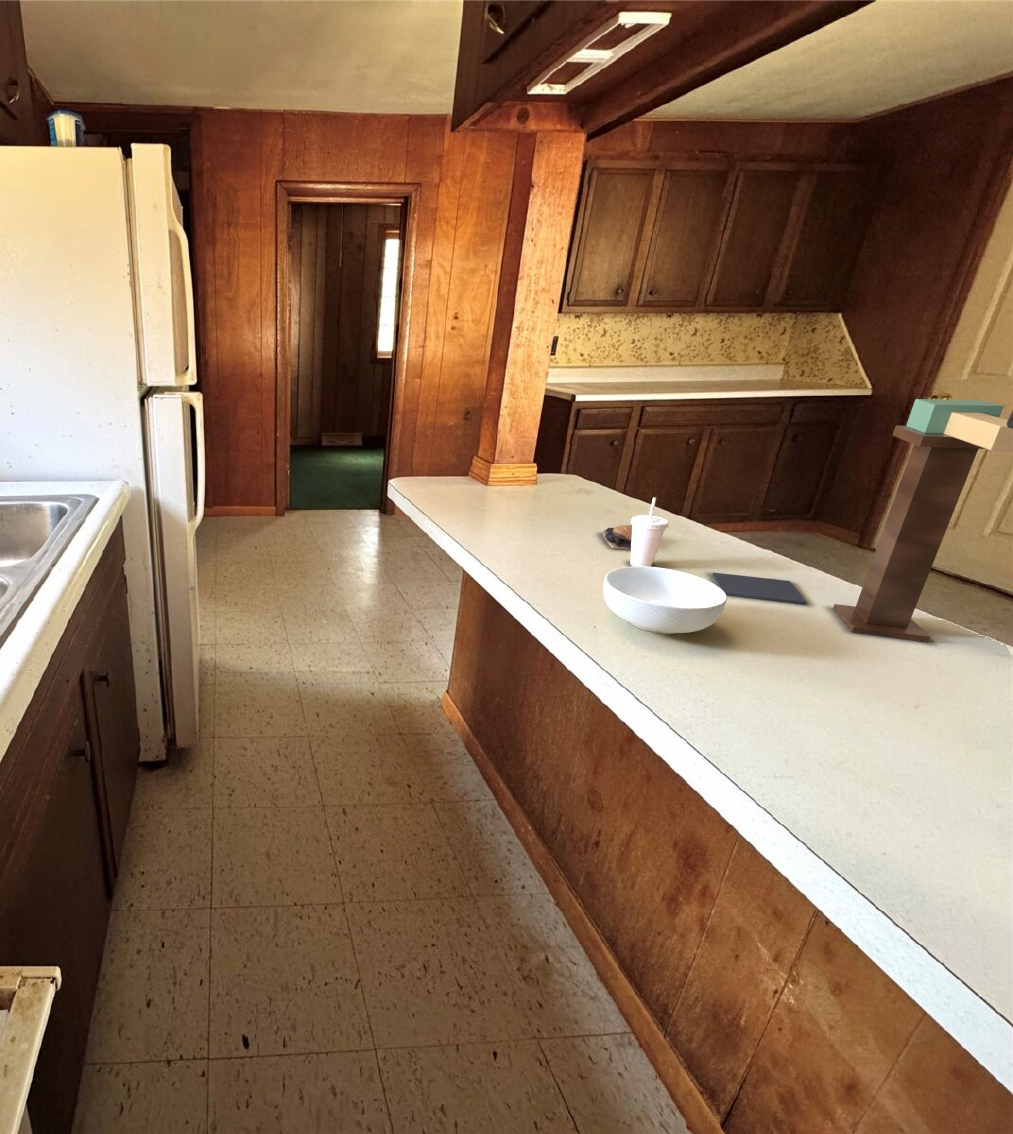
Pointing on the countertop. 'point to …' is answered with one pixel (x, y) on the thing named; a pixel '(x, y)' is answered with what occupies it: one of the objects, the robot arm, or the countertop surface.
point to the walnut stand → (911, 535)
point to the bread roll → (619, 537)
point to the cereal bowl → (663, 599)
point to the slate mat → (758, 588)
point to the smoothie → (646, 537)
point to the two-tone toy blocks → (963, 421)
